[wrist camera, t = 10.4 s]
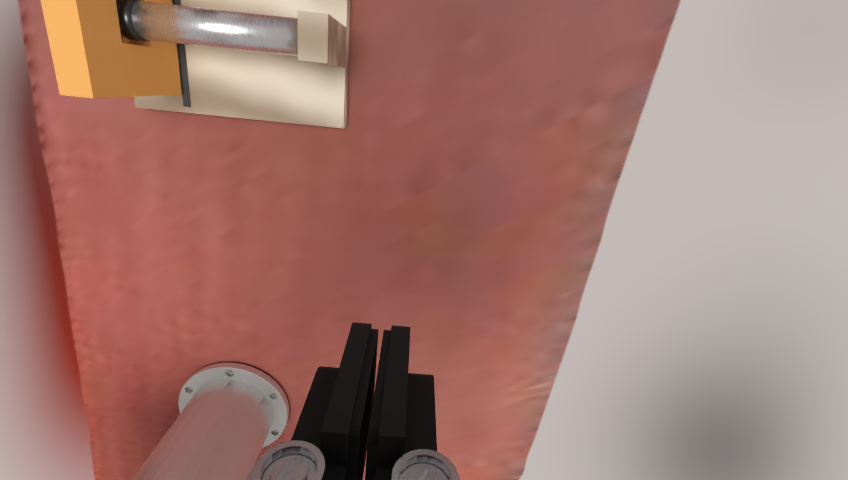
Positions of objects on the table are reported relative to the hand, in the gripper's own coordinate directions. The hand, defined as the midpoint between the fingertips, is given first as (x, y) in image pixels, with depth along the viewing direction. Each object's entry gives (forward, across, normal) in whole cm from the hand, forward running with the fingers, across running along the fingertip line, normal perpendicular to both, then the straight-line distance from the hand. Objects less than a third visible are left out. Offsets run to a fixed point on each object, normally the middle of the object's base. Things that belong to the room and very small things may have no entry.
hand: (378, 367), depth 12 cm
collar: (+27, +21, -10) cm, 35 cm away
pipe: (+23, +15, -10) cm, 30 cm away
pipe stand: (+29, +15, -10) cm, 34 cm away
